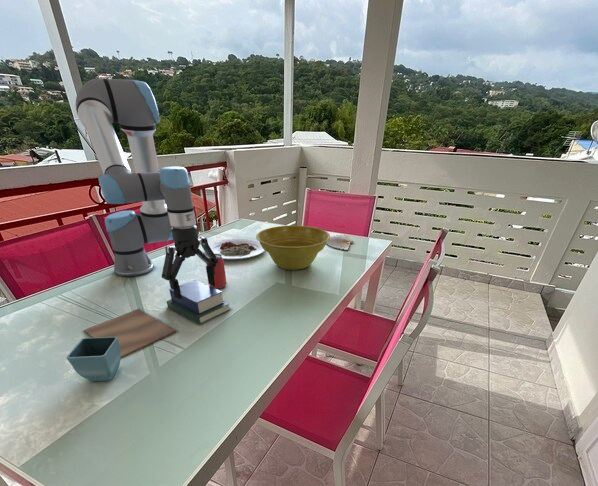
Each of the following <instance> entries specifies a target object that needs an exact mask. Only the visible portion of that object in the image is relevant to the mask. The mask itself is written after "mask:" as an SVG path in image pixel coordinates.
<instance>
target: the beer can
mask: <svg viewBox="0 0 598 486" xmlns="http://www.w3.org/2000/svg"><path fill="white" fill-rule="evenodd" d="M206 256H207V257H208V255H206ZM215 256H216V258H217V259H218V261H219V262H218V263H216V267H214V269H215V275H214V280H215V286H212V285H210V284H209V286H210V287H213V288H215V289H223V288H224V287H226V286H227V284H228V283H227V276H226V268H225V259H223V258H222V255H220V254H215ZM208 258H209V257H208ZM209 259H210V258H209ZM206 266H209V265H208V264H206Z"/></svg>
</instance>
